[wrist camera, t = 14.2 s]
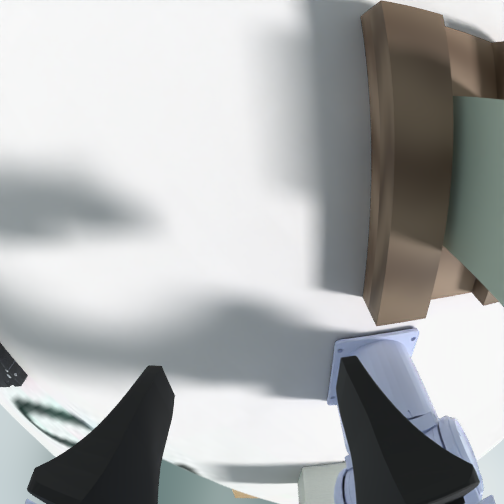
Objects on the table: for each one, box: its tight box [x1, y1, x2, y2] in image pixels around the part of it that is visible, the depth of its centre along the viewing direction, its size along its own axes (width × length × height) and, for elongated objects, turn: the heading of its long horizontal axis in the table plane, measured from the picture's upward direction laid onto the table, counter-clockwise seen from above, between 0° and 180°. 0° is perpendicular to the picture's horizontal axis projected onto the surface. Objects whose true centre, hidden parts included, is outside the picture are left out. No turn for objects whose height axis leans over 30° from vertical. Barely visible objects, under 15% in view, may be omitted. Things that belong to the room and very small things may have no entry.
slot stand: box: [361, 1, 504, 326], centre depth 16 cm, size 20×14×4 cm
